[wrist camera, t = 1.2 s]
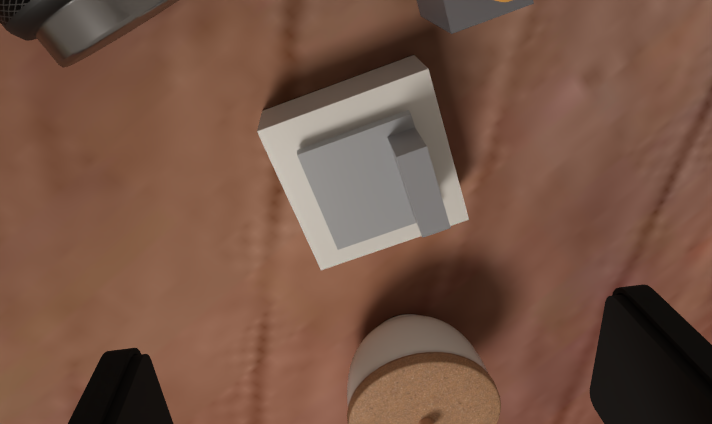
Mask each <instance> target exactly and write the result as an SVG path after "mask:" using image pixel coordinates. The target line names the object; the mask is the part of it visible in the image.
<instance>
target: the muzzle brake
mask: <svg viewBox="0 0 712 424" xmlns="http://www.w3.org/2000/svg"><path fill="white" fill-rule="evenodd" d="M177 1H179V0H0V23H1V24H2V25H3V26H4V28H5V29H6V30H7V31H8V32H10V33H11V34H13V35H15V36H17V37H20V38H22V39H24V40H33V39H38V40H39V42H40V43H41V44H42V45H43V46H44V48H45V49H46V50H47V51H48V52H49V54H50V55H51V56H52V57H53V59H54V60H55V61H56V62H57V63H58V65H60V66H61V67H68V66H71V65H73V64H75V63H77V62H79V61H80V60H82V59H84V58H86V57H88V56H89V55H91V54H93V53H95V52H96V51H98V50H100V49H102V48H103V47H105V46H107V45H108V44H110V43H112V42H113V41H115V40H117V39H118V38H120V37H122V36H123V35H125V34H127V33H128V32H130V31H132V30H133V29H135V28H136V27H138V26H140V25H141V24H143V23H144V22H146V21H148V20H149V19H151V18H152V17H154V16H156V15H157V14H159V13H160V12H162V11H163V10H165V9H167V8H168V7H170V6H171V5H173V4H174V3H176V2H177Z"/></svg>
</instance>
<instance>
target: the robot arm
mask: <svg viewBox="0 0 712 424" xmlns="http://www.w3.org/2000/svg"><path fill="white" fill-rule="evenodd" d="M590 398H591V401H592V404H593V406H594V408H595V410H596V411H597V413H598V414H599V416H600V418H601V419H602V421H603V422H604V424H712V345H711V344H710V343H709V342H708V341H707V340H706V339H705V338H704V337H703V336H702V335H701V334H700V333H699V332H697V331H696V330H695V329H694V328H693V327H692V326H691V325H690V324H689V323H688V322H687V321H686V320H685V319H684V318H683V317H682V316H681V315H680V314H679V313H677V312H676V311H675V310H674V309H673V308H672V307H671V306H670V305H669V304H668V303H667V302H666V301H665V300H664V299H663V298H662V297H661V296H660V295H659V294H657V293H656V292H655V291H654V290H653V289H652V288H651V287H649V286H648V285H636V286H628V287H620V288H616V289H615V290H614V292H613V294H612V296H609V297H608V298H607V299H606V302H605V307H604V313H603V318H602V324H601V329H600V335H599V341H598V346H597V352H596V357H595V363H594V369H593V374H592V380H591V385H590ZM68 424H173V421H172V419H171V416H170V413H169V410H168V407H167V404H166V401H165V398H164V396H163V393H162V390H161V387H160V384H159V381H158V378H157V376H156V373H155V370H154V367H153V364H152V361H151V359H150V356H149V355H148V354H142V355H141V353H140V351H139V350H138V349H137V348H130V349H122V350H114V351H107V352H105V353H104V354H103V355H102V357H101V359H100V361H99V363H98V365H97V367H96V369H95V371H94V373H93V375H92V377H91V379H90V381H89V383H88V385H87V387H86V389H85V391H84V393H83V395H82V396H81V398H80V400H79V402H78V404H77V406H76V408H75V410H74V412H73V414H72V416H71V418H70V420H69V422H68Z"/></svg>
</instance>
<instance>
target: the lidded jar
mask: <svg viewBox="0 0 712 424" xmlns="http://www.w3.org/2000/svg"><path fill="white" fill-rule="evenodd" d="M347 403H348V412H347V421H348V424H497V422H498V418H499V415H500V409H501V402H500V396H499V393H498V390H497V388H496V385H495V383H494V381H493V380H492V378H491V377H490V375H489V374H488V372H487V369H486V367H485V365H484V363H483V361H482V360H481V358H480V356H479V355H478V353H477V352H476V350H475V349H474V347H473V346H472V344H471V343H470V342H469V341H468V340H467V339H466V338H465V337H464V336H463V335H462V334H461V333H460V332H459V331H458V330H457V329H455V328H454V327H452V326H451V325H449V324H448V323H445V322H443V321H441V320H439V319H436V318H433V317H429V316H422V315H415V314H405V315H399V316H395V317H393V318H390V319H388V320H386V321H384V322H383V323H382V324H380V325H379V326H378V327H376V328H375V329H373V330H372V331H371V332H370V333H369V334H368V335H367V336H366V337H365V338H364V340H363V341H362V342H361V344H360V345H359V346H358V348H357V350H356V352H355V354H354V357H353V359H352V362H351V365H350V370H349V375H348V384H347Z"/></svg>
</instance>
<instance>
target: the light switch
mask: <svg viewBox="0 0 712 424" xmlns="http://www.w3.org/2000/svg"><path fill="white" fill-rule="evenodd" d="M406 110H409V112H410V113H411V116H412V119H413V122H414V126H415V128H416V130H417V131H418V133H419V135H420V136H421V138H422V139H423V141H424V142H425V144H426V146H427V148H428V152H429V155H430V159H431V162H432V166H433V169H434V172H435V176H436V179H437V183H438V186H439V189H440V193H441V196H442V200H443V203H444V207H445V210H446V213H447V217H448V220H449V224H450V226H452V225H455V224H458V223H460V222H463V221H466V220H469V218H468V214H467V210H466V207H465V203H464V199H463V196H462V192H461V188H460V184H459V181H458V177H457V173H456V169H455V166H454V162H453V158H452V155H451V151H450V147H449V143H448V140H447V136H446V132H445V129H444V125H443V121H442V117H441V114H440V110H439V106H438V103H437V99H436V95H435V91H434V88H433V84H432V80H431V76H430V73H429V69H428V68H427V67H426V66H425V65H424V64H423V63H422V62H421V61H420V60H419V59H418V58H417V57H416V56H415V55H412V56H410V57H407V58H404V59H401V60H399V61H396V62H393V63H391V64H388V65H385V66H383V67H380V68H377V69H374V70H372V71H369V72H366V73H364V74H361V75H358V76H355V77H353V78H350V79H347V80H345V81H342V82H339V83H337V84H334V85H331V86H328V87H326V88H323V89H320V90H318V91H315V92H312V93H309V94H307V95H304V96H301V97H299V98H296V99H293V100H290V101H288V102H285V103H282V104H280V105H277V106H274V107H272V108H269V109H266V110H263V111H262V114H261V118H260V122H259V126H258V130H257V132H258V134H259V137H260V139H261V141H262V143H263V145H264V147H265V150H266V152H267V154H268V156H269V158H270V160H271V163H272V165H273V167H274V169H275V171H276V173H277V176H278V178H279V180H280V182H281V184H282V186H283V189H284V191H285V193H286V195H287V197H288V200H289V202H290V204H291V206H292V208H293V210H294V213H295V215H296V217H297V219H298V221H299V223H300V226H301V228H302V230H303V232H304V234H305V236H306V239H307V241H308V243H309V245H310V247H311V249H312V252H313V254H314V256H315V258H316V260H317V263H318V265H319V267H320V269H321V270H323V269H326V268H329V267H332V266H335V265H338V264H341V263H344V262H347V261H349V260H352V259H355V258H358V257H361V256H364V255H367V254H370V253H373V252H376V251H379V250H382V249H384V248H387V247H390V246H393V245H396V244H399V243H402V242H405V241H408V240H411V239H414V238H417V237H420V236H422V235H421V232H420V230H419V228H418V225H417V223H415V224H412V225H409V226H406V227H403V228H400V229H397V230H394V231H391V232H388V233H386V234H383V235H380V236H377V237H374V238H371V239H368V240H365V241H362V242H359V243H356V244H354V245H351V246H348V247H345V248H342V249H339V250H338V249H337V247H336V244H335V242H334V240H333V238H332V235H331V233H330V231H329V228H328V226H327V224H326V221H325V219H324V217H323V214H322V212H321V210H320V207H319V205H318V203H317V200H316V198H315V196H314V193H313V191H312V189H311V186H310V184H309V182H308V179H307V177H306V175H305V172H304V170H303V168H302V165H301V163H300V161H299V158H298V156H297V150H299V149H301V148H304V147H307V146H310V145H312V144H315V143H318V142H321V141H323V140H326V139H329V138H332V137H334V136H337V135H340V134H343V133H346V132H348V131H351V130H354V129H357V128H359V127H362V126H365V125H368V124H370V123H373V122H376V121H379V120H381V119H384V118H387V117H390V116H393V115H395V114H398V113H401V112H404V111H406Z"/></svg>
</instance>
